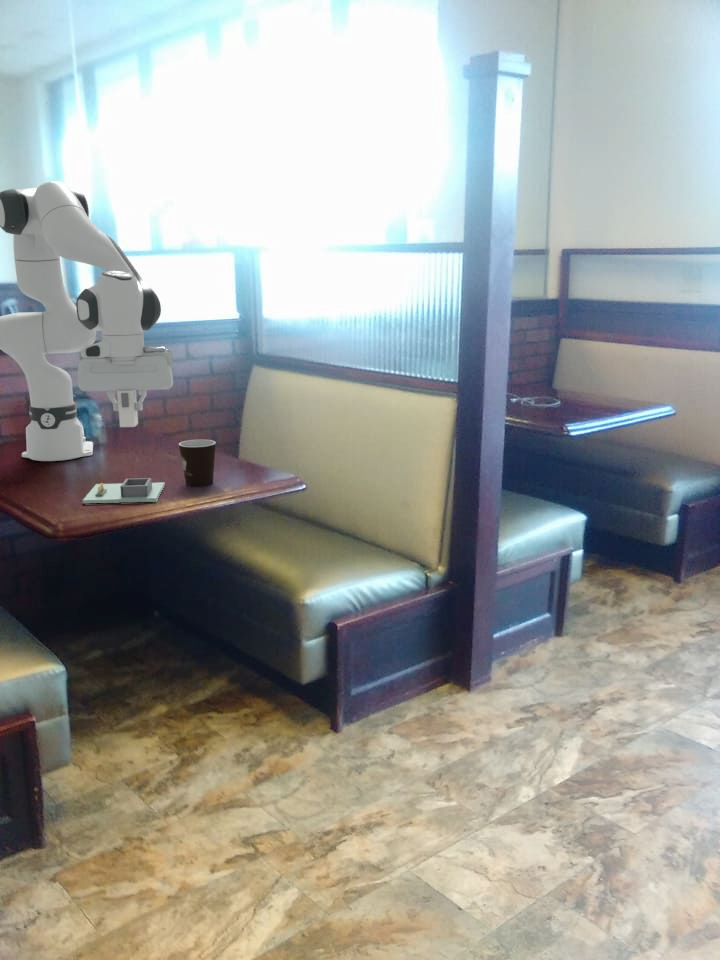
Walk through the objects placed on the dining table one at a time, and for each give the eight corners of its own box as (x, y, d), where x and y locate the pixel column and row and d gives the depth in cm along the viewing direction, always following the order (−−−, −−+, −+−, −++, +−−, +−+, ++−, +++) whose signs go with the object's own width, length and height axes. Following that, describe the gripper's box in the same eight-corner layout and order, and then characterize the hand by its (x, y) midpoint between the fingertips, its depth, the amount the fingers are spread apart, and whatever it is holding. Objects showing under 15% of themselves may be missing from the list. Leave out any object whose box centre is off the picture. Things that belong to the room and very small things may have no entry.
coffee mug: (216, 488, 206) (214, 446, 203) (179, 489, 205) (176, 447, 203) (219, 476, 217) (217, 436, 215) (184, 476, 216) (182, 437, 214)
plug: (123, 423, 196) (121, 388, 194) (138, 423, 196) (135, 388, 194) (119, 427, 191) (116, 391, 189) (134, 427, 191) (131, 391, 189)
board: (96, 488, 206) (95, 473, 206) (164, 486, 208) (164, 472, 207) (83, 504, 193) (81, 489, 192) (156, 502, 194) (155, 487, 193)
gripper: (173, 345, 194) (177, 407, 197) (79, 347, 192) (85, 409, 196) (169, 348, 188) (173, 411, 191) (72, 349, 186) (78, 413, 190)
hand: (128, 410), depth 193 cm, fingers closed on plug, 3 cm apart
